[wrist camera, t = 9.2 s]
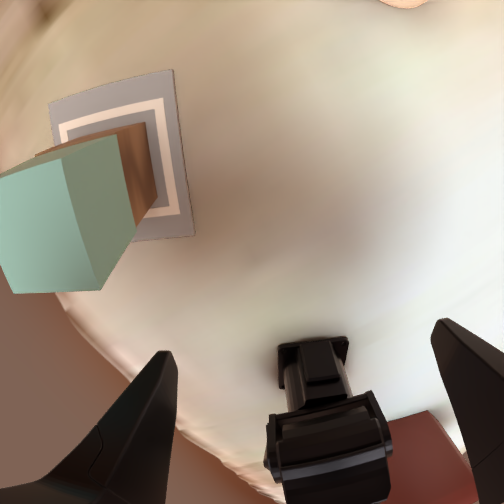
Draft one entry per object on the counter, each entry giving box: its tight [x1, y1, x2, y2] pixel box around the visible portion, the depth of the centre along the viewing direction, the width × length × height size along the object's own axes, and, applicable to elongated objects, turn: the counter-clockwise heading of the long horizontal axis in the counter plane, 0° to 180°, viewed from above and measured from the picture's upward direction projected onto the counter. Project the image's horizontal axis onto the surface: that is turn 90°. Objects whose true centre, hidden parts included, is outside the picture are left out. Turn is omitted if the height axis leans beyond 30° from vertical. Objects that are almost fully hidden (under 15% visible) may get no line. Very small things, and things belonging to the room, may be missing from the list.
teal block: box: [0, 134, 137, 294], centre depth 11 cm, size 5×5×5 cm
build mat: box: [48, 69, 195, 242], centre depth 18 cm, size 11×9×1 cm
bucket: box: [381, 410, 479, 504], centre depth 30 cm, size 24×22×25 cm
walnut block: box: [35, 122, 158, 227], centre depth 16 cm, size 5×5×5 cm
